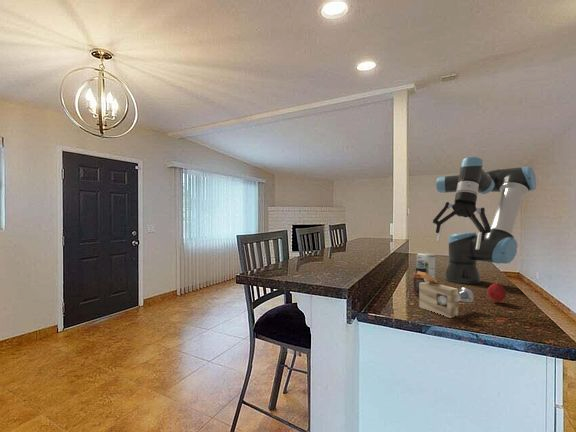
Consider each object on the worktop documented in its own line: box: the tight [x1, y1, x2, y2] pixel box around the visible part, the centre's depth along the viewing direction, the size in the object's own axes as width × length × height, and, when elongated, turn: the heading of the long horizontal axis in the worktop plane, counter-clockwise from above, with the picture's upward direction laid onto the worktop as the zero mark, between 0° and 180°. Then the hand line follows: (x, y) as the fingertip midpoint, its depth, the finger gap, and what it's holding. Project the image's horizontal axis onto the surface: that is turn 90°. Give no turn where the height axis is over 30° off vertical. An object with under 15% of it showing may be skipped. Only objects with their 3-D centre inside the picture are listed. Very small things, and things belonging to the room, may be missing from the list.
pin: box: [438, 287, 475, 305], centre depth 104 cm, size 13×5×5 cm, turn 116°
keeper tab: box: [417, 271, 440, 284], centre depth 107 cm, size 8×4×1 cm, turn 116°
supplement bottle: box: [412, 266, 429, 297], centre depth 125 cm, size 6×6×11 cm
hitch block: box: [418, 281, 459, 319], centre depth 105 cm, size 4×12×9 cm, turn 26°
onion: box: [486, 281, 507, 304], centre depth 113 cm, size 6×6×8 cm
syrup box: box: [416, 252, 436, 279], centre depth 141 cm, size 6×6×14 cm
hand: (457, 245), depth 118 cm, fingers open, 13 cm apart
